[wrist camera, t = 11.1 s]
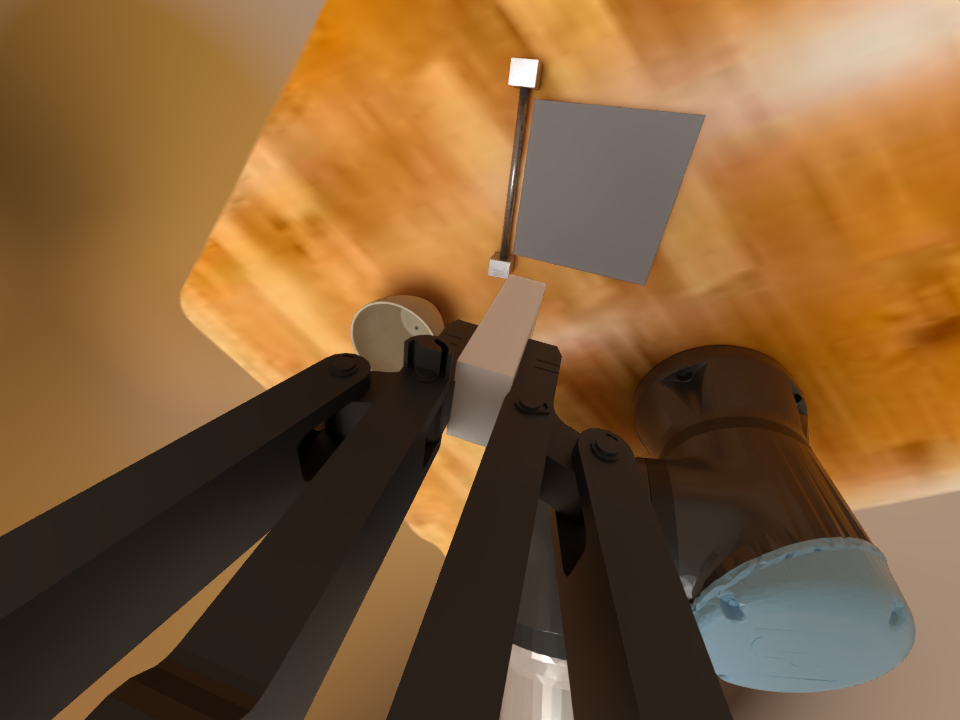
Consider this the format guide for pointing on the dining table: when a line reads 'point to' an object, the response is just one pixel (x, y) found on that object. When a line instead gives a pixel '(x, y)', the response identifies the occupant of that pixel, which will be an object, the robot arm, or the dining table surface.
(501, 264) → the hinge bracket
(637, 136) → the tile
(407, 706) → the robot arm
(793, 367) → the dining table surface
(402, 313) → the flower pot
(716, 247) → the dining table surface
